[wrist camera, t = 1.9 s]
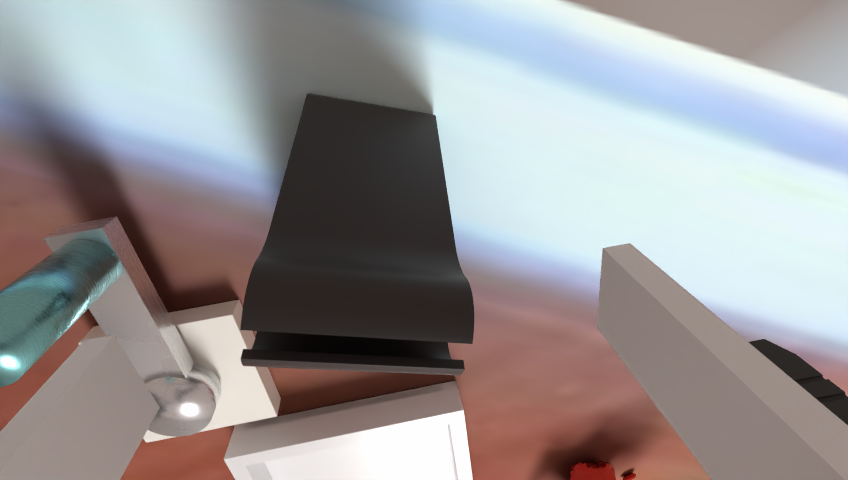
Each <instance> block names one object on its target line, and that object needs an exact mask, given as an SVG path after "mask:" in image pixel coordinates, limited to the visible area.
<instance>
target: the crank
mask: <svg viewBox="0 0 848 480" xmlns="http://www.w3.org/2000/svg"><path fill="white" fill-rule="evenodd" d="M44 240H45V241H46V243H47V244H48V246H49V247H50V249H51V250H52V252H53V253H52V254H51V255H49V256H48V257H46V258H45V259H44V260H42V261H41V262H39V263H38V264H37V265H35V266H34V267H32V268H31V269H30V270H28V271H27V272H26V273H24V274H23V275H21V276H20V277H19V278H17V279H16V280H14V281H13V282H12V283H10V284H9V285H7V286H6V287H5V288H3V289H2V290H0V387H3V386H7V385H10V384H12V383H14V382H16V381H17V380H18V379H19V378H20V377H21V376H22V375H23V374H24V373H25V372H26V371H27V370H28V369H29V368H30V367H31V366H32V365H33V364H34V363H35V362H36V361H37V360H38V359H39V358H40V357H41V356H42V355H43V354H44V353H45V352H46V351H47V350H48V349H49V348H50V347H51V346H52V345H53V344H54V343H55V342H56V341H57V340H58V339H59V338H60V337H61V336H62V335H63V334H64V333H65V332H66V331H67V330H68V329H69V328H70V327H71V326H72V325H73V324H74V323H75V321H76V320H77V319H78V318H79V317H80V316H81V315H82V314H83V313H84V312H85V311H86V310H87V309H88V308H89V310H90V312H91V313H92V315H93V316H94V318H95V319H96V321H97V322H98V324H99V326H100V327H101V329H102V330H103V332H104V333H105V335H106V336H111V335H114V336H115V337H116V339H117V340H118V342H119V343H120V345H121V347H122V348H123V350H124V351H125V353H126V355H127V356H128V358H129V359H130V361H131V363H132V364H133V366H134V367H135V369H136V370H137V372H138V374H139V375H140V377H141V378H142V380H143V382H144V383H145V385H146V386H147V388H148V390H149V391H150V393H151V394H152V396H153V397H154V399H155V401H156V402H157V404H158V405H159V407H160V408H159V410H158V412H157V414H156V415H155V417H154V419H153V421H152V423H151V424H150V426H149V428H148V430H149V431H151V432H154V433H156V434H160V435H164V436H172V437H179V436H188V435H192V434H195V433H197V432H199V431H201V430H203V429H204V428H205V427H206V426H207V425H208V424H209V423H210V421H211V419H212V417H213V414H214V412H215V409H216V407H217V404H218V401H219V399H220V396H221V393H222V386H221V383H220V381H219V379H218V377H217V376H216V375H215V374H214V373H213V372H212V371H211V370H209V369H208V368H206V367H204V366H202V365H200V364H197V363H194V361H193V359H192V357H191V355H190V354H189V352H188V350H187V348H186V346H185V344H184V342H183V340H182V338H181V337H180V335H179V333H178V331H177V329H176V327H175V325H174V323H173V322H172V320H171V318H170V316H169V314H168V312H167V310H166V308H165V306H164V305H163V303H162V301H161V299H160V297H159V295H158V293H157V291H156V289H155V288H154V286H153V284H152V282H151V280H150V278H149V276H148V274H147V273H146V271H145V269H144V267H143V265H142V263H141V261H140V259H139V257H138V256H137V254H136V252H135V250H134V248H133V246H132V244H131V242H130V240H129V239H128V237H127V235H126V233H125V231H124V229H123V227H122V225H121V224H120V222H119V220H118V218H117V217H112V218H106V219H100V220H94V221H88V222H83V223H77V224H71V225H65V226H61V227H60V228H58V229H57V230H55V231H54V232H52V233H50V234H49V235H47V236H46V237H44Z"/></svg>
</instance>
